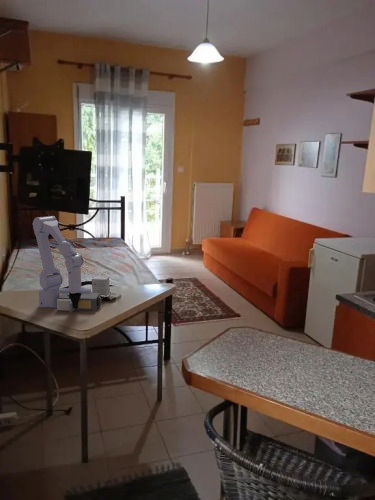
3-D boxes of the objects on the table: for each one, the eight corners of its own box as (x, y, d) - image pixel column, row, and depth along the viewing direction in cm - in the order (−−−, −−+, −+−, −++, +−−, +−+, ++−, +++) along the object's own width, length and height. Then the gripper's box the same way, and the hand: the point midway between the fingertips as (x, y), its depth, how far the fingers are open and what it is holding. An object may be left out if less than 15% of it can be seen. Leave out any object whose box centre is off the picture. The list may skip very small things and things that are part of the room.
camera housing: (58, 309, 195) (58, 296, 194) (64, 303, 204) (63, 290, 203) (98, 310, 195) (98, 297, 194) (102, 304, 204) (102, 291, 203)
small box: (109, 295, 218) (109, 276, 216) (106, 298, 213) (106, 279, 211) (95, 294, 219) (95, 275, 217) (92, 297, 213) (91, 278, 211)
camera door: (55, 312, 191) (54, 302, 189) (58, 309, 195) (57, 299, 194) (72, 312, 191) (71, 302, 189) (74, 309, 195) (74, 299, 194)
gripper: (56, 282, 185) (57, 310, 187) (88, 283, 185) (89, 311, 187) (61, 278, 191) (62, 305, 194) (91, 278, 191) (92, 306, 194)
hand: (75, 307), depth 191 cm, fingers closed
